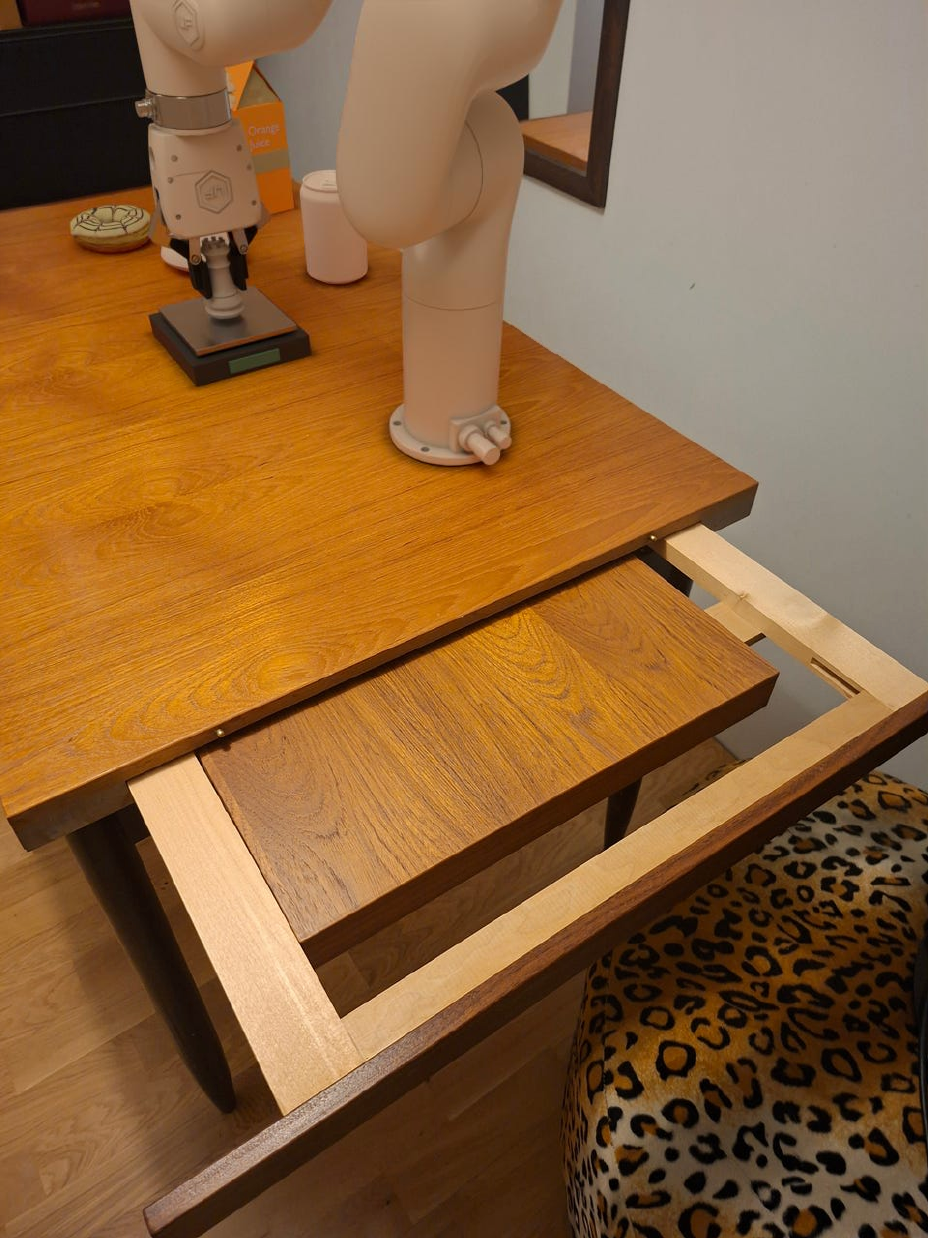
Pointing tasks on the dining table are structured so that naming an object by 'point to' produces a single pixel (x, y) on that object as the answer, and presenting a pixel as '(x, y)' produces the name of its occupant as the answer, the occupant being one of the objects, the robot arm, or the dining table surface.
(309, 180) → the beverage can
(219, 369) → the scale
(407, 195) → the robot arm
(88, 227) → the decorated donut
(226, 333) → the platter
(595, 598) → the dining table surface
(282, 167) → the orange juice
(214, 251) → the rook chess piece
